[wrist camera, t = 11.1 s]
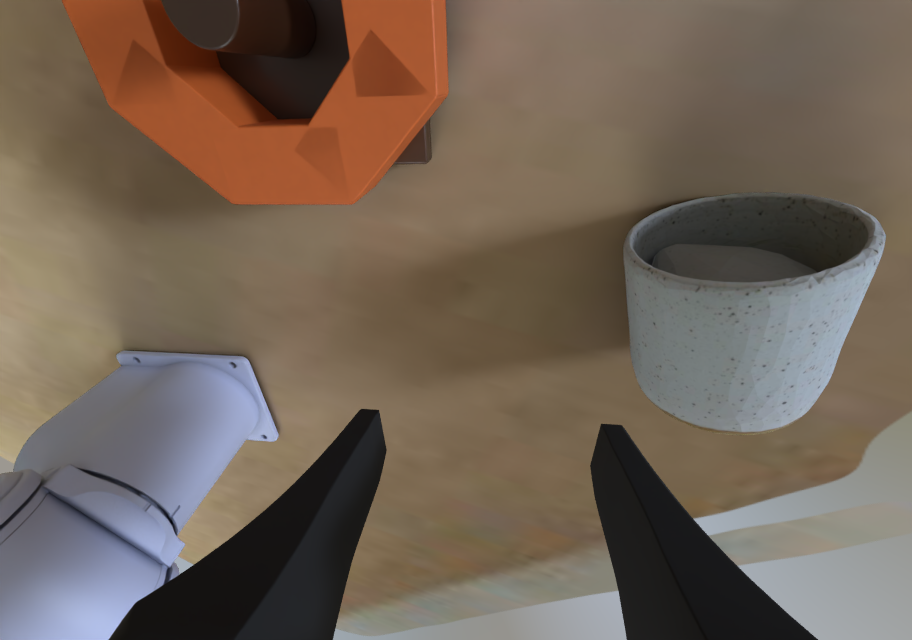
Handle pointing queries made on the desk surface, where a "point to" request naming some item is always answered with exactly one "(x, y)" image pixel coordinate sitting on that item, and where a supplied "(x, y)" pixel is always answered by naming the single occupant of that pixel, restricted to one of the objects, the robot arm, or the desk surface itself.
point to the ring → (248, 122)
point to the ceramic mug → (745, 304)
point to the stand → (279, 52)
